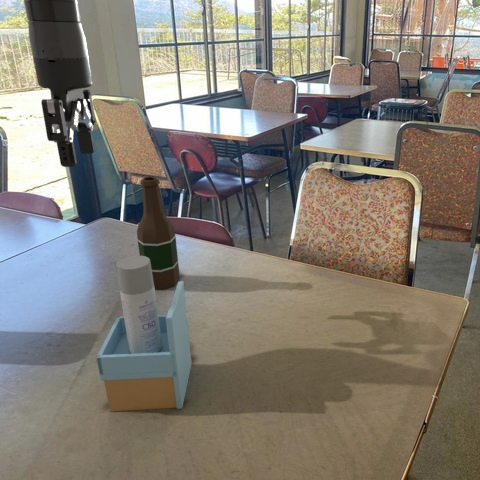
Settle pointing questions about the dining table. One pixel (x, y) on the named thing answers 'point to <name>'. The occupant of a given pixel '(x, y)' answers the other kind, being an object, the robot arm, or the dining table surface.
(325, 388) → the dining table surface
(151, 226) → the beer bottle
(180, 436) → the dining table surface
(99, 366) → the blue and tan box
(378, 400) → the dining table surface
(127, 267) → the container
